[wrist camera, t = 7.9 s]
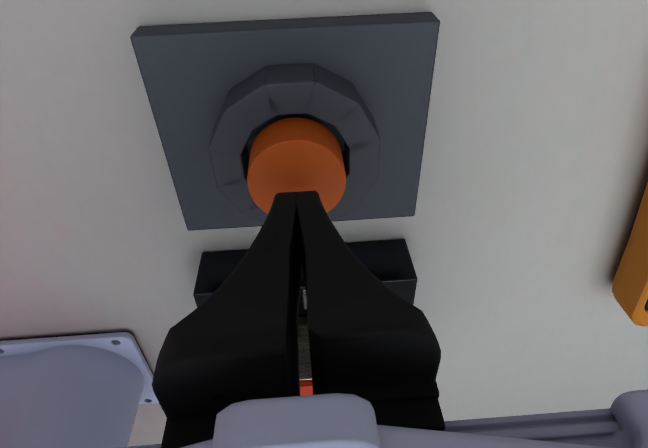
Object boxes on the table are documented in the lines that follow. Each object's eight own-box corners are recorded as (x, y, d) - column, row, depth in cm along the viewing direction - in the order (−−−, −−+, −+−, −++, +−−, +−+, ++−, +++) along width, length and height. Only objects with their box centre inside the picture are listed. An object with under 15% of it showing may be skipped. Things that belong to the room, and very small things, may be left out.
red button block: (324, 365, 26) (329, 430, 23) (299, 366, 26) (301, 432, 23) (323, 315, 23) (328, 382, 20) (294, 316, 23) (295, 384, 20)
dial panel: (229, 350, 29) (224, 394, 27) (201, 251, 24) (192, 297, 21) (393, 338, 30) (402, 380, 27) (405, 238, 24) (418, 281, 22)
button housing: (191, 215, 22) (180, 257, 20) (137, 25, 16) (113, 53, 14) (409, 201, 22) (423, 241, 20) (432, 11, 17) (455, 36, 14)
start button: (256, 198, 19) (253, 225, 17) (243, 119, 16) (240, 143, 15) (341, 193, 19) (346, 219, 17) (341, 113, 16) (346, 137, 15)
